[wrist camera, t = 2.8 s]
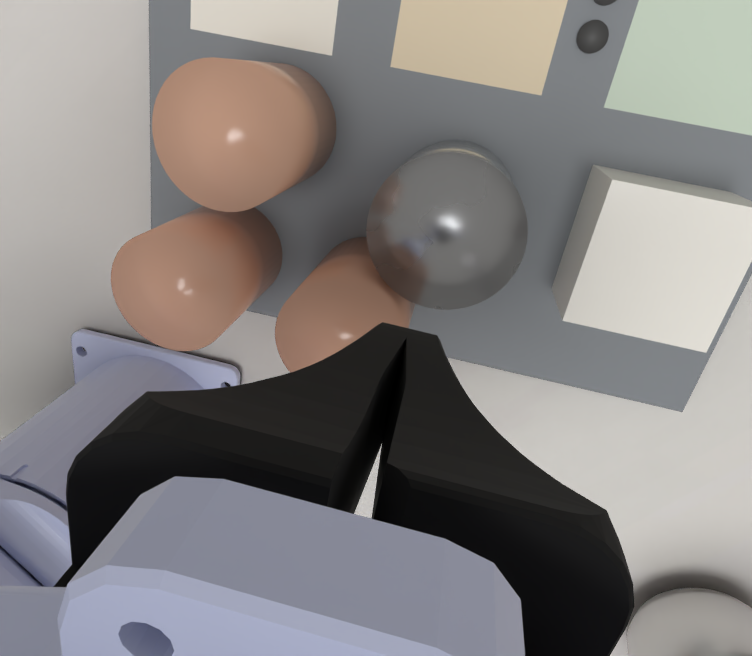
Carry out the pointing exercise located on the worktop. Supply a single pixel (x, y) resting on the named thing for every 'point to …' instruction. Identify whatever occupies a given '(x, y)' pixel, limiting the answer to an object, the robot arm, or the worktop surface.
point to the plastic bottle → (691, 625)
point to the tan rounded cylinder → (241, 130)
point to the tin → (448, 226)
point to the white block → (654, 258)
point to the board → (495, 140)
